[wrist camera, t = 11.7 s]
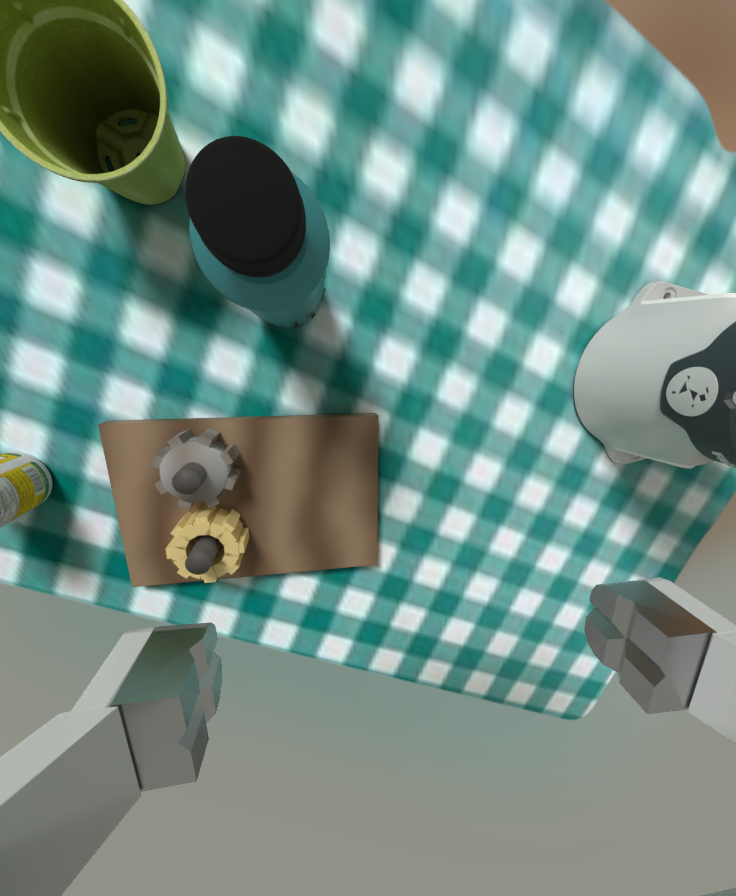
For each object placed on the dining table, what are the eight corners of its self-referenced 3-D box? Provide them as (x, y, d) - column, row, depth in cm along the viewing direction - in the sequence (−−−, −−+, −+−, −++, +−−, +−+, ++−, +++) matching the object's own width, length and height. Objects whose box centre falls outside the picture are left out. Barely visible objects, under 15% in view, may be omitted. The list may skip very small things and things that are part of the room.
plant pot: (45, 100, 25) (-82, -17, 17) (175, 66, 26) (112, -64, 18) (112, 243, 28) (31, 201, 20) (228, 209, 29) (195, 154, 21)
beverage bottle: (296, 345, 32) (277, 344, 13) (230, 297, 31) (98, 217, 12) (338, 282, 32) (380, 187, 13) (272, 229, 30) (204, 22, 11)
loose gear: (246, 501, 34) (240, 515, 31) (252, 561, 36) (247, 579, 33) (172, 505, 33) (159, 520, 30) (182, 567, 35) (171, 586, 32)
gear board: (375, 413, 35) (389, 427, 29) (374, 556, 40) (386, 595, 33) (107, 420, 32) (58, 438, 26) (139, 577, 36) (104, 625, 30)
